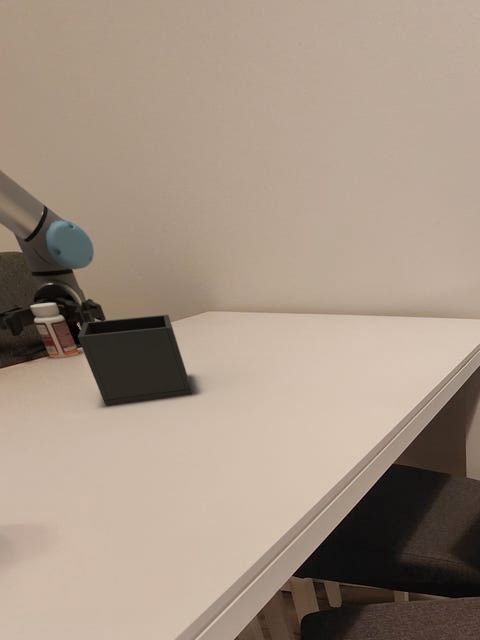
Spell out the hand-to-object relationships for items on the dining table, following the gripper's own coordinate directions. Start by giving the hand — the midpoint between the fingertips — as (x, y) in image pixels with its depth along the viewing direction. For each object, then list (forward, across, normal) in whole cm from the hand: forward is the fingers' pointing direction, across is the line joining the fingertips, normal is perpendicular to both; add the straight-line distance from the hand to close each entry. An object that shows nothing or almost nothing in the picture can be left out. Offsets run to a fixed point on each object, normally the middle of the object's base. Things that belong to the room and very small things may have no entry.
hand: (46, 323), depth 101 cm
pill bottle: (-4, 0, -6) cm, 8 cm away
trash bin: (+31, -14, -6) cm, 34 cm away
